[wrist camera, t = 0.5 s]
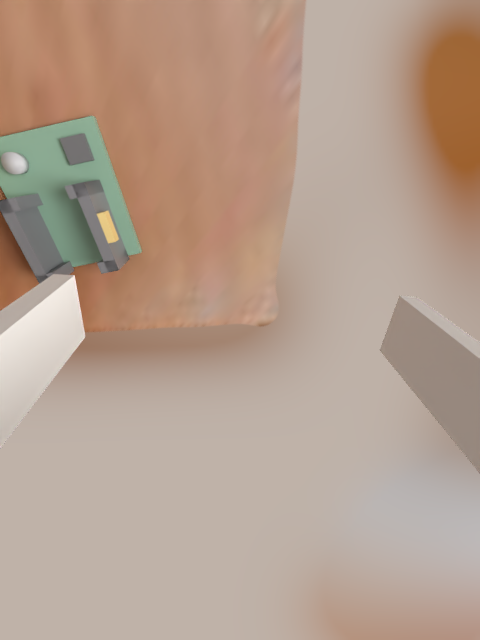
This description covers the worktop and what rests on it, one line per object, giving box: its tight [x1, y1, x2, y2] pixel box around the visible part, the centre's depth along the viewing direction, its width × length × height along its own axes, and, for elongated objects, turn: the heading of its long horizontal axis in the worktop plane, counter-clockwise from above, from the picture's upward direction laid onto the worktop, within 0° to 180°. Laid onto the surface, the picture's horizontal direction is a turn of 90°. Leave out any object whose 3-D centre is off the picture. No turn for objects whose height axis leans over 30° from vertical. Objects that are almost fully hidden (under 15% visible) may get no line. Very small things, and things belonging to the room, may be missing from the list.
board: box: [0, 116, 142, 267], centre depth 33 cm, size 14×12×2 cm
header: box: [0, 180, 129, 284], centre depth 33 cm, size 9×10×4 cm
